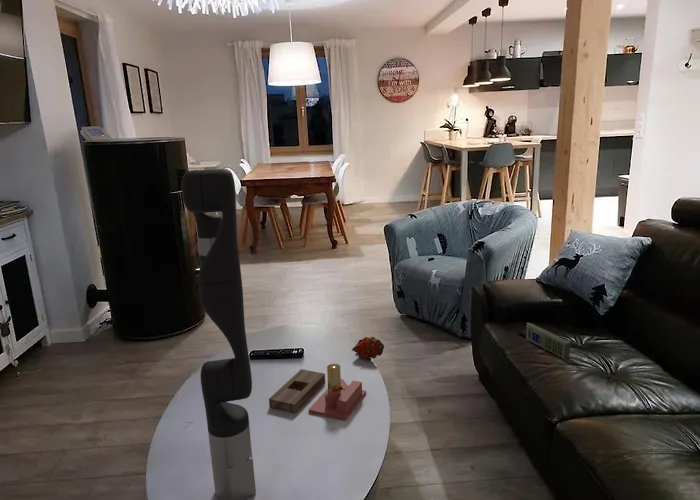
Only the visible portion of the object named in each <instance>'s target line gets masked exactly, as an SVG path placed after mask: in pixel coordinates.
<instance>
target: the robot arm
mask: <svg viewBox="0 0 700 500" xmlns="http://www.w3.org/2000/svg"><path fill="white" fill-rule="evenodd" d="M233 175H234V174H233V173H232V171H231V170H230V169H228V168H214V169H211V168H210V169H209V168H208V169H194V170H188V171H187V172H185V173H184V174H183V176H182V178H181V196H182V201H183V205H184V207H185V208H186V210H187V211H189V212H191V213H193V216H194V219H195V225H196V234H197V250H198V251H197V252H198V260H199V267H198V268H195V269H194V270H193V271H192V278H193V289H194V290H198V291H199V299H200V300H199V302H200V305H201V307H202V309H203V311H204V312H205V313H206V315H207V316H208V317H209V319H210V320H211V321H212V322H213V323H214V324H215V326H216V327H217V328H218V329H219V330H220V331H221V333H222V334H223V335H224V337H225V338H226V341H228V344H229V345H230V348H231V349H232V353H233V355H234V357H233V358H225V359H224V358H223V359H218V360H209V361H206V362H204V363H203V364H202V367H201V369H200V386H201V393H202V396H203V397H202V398H203V402H204V409H205V416H206V423H207V432H208V433H207V434H208V443H209V451H210V452H209V453H210V458H211V459H210V460H211V467H212V468H211V469H212V476H213V485H214V493H215V494H214V495H215V497H216V499H217V500H246V499H249V498H250V497H252V496H253V495H256V494H257V491H256V490H257V488H256V480H255V469H254V459H253V452H252V451H253V449H252V440H251V429H250V417H249V413H248V410H247V409H246V408H245V407H244V406H242V405H239V404H237V403H231V402H233V401H241V400H245V399H248V398H250V396H251V394H252V390H253V379H252V378H253V377H252V371H251V362H250V356H249V349H248V348H249V347H248V341H247V335H246V327H245V326H246V324H245V308H244V291H243V289H244V288H243V279H242V273H241V272H242V271H241V263H240V254H239V246H238V245H239V244H238V230H237V229H238V227H237V224H238V223H237V221H238V220H237V200H236V199H237V197H236V194H237V193H236V184H235V179H234V178H235V177H234V176H233ZM215 213H216V214H215ZM217 213H221V215H222V216H221V215H219V214H217Z"/></svg>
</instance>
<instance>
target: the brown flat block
mask: <svg viewBox="0 0 700 500" xmlns="http://www.w3.org/2000/svg"><path fill="white" fill-rule="evenodd" d="M325 383H326V373H323V372H317V371H313V370H307V369H303V368H301V369H299V370H298V372H296V373H295V374H294V375H293V376H292V377H291V378H290V379H288V380H287V382H285V383H284V384H283V385H282V386H281V387H280V388H279V389H278V390H277V391H276V392H274V393H273V394H272V395H271V396H270V397H268V405H269V408H270V409H274V410H279V411H282V412H287V413H291V414H297V412H298V411H300V409H301V408H302V407H303V406H304V405H305V404H306V403H307V402H308V401H309V400H310V399H311V398H312V397H313V396H314V394H315V393H317V391H318V390H319V389H320V388H321V387H322V386H323V385H324V384H325Z"/></svg>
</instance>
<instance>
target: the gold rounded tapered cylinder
mask: <svg viewBox="0 0 700 500" xmlns="http://www.w3.org/2000/svg"><path fill="white" fill-rule="evenodd" d="M326 374H327V375H326V376H327V377H326V378H327V389H328V393H330V392H334V391H339V390H341V379H342V377H341V365H340V364H338V363H331V364H328V365H327V366H326Z"/></svg>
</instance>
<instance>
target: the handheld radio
mask: <svg viewBox="0 0 700 500" xmlns="http://www.w3.org/2000/svg"><path fill="white" fill-rule="evenodd" d="M516 333H518V334H519V335H521V336H524V337H525V340H526V341H528V342H529V343H531V342H532V343H531V344H533V343H534V345H535V344H536V345H535V346H537V345H538V346H537V347H539V346H540V347H539V348H541V347H542V348H541V349H543V348H544V349H543V350H545V349H546V350H548V351H550V352H552V353H554V354H556V355H557V356H556V355H555V356H556V357H558V356H559V357H558V358H560V357H561V358H563V359H567V360H569V359H570V353H571V345H572V342H570V341H569V340H567V339H564V338H562V337H560V336H558V335H556V334H554V333H552V332H550V331H547V330H546V329H543V328H541V327H539V326H537V325H535V324H534V323H532V322H531V323H530V322H526V330H525V332H523V331H522V330H520V329H517V330H516ZM546 350H545V351H546ZM548 351H547V352H548ZM550 352H549V353H550ZM552 353H551V354H552ZM554 354H553V355H554ZM561 358H560V359H561ZM563 359H562V360H563Z"/></svg>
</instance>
